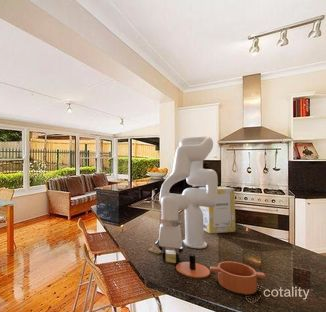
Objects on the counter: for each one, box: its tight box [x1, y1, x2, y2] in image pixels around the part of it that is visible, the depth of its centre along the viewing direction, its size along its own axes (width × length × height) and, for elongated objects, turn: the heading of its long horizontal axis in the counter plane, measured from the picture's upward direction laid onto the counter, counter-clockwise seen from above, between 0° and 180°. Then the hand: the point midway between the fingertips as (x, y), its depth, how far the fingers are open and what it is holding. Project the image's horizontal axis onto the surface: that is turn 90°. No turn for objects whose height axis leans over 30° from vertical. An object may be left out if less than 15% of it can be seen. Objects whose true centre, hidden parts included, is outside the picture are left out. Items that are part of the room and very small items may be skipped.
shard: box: [148, 245, 163, 255], centre depth 122 cm, size 11×8×2 cm
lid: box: [175, 253, 211, 279], centre depth 100 cm, size 13×13×7 cm
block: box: [165, 249, 176, 264], centre depth 110 cm, size 4×4×4 cm
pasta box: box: [198, 186, 236, 234], centre depth 154 cm, size 18×10×28 cm, turn 98°
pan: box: [209, 260, 267, 295], centre depth 88 cm, size 12×18×6 cm
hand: (170, 260), depth 110 cm, fingers closed on block, 4 cm apart
